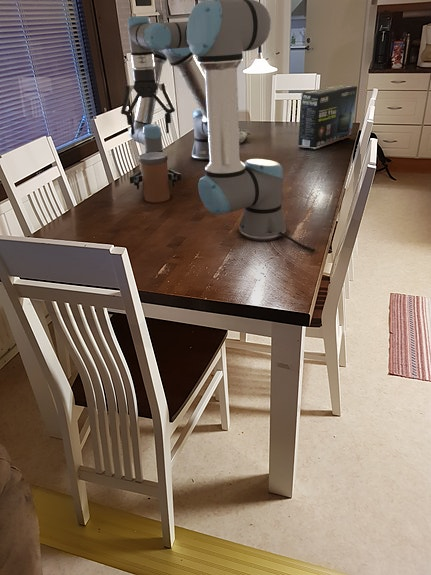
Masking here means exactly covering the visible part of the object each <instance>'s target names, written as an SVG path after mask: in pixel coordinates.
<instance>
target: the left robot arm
mask: <svg viewBox="0 0 431 575" xmlns="http://www.w3.org/2000/svg"><path fill="white" fill-rule="evenodd" d="M153 54H154V67H153V69H154V70H155V76H156V83H157V84H161V78H162V72H163V69H164V65H165V64H166V63H167V62H168V63H169V64H170V67H174V68H176V69H177V71H178V73H179V74H180V76H181V78H182V80H183V82H184V83H185V85H186V87H187V89H188V91H189V93H190V94H191V96H192V98H193V99H194V101H195V104H196V105H197V107H198V108H197V109H195V110H193V112H192V122H193V136H194V137H193V138H194V142H193V147H192V151H191V158H192V159H193V160H195V161H199V162H210V156H209V139H208V123H207V106H206V90H205V74H204V72H203V70H202V67H201V65H200V64H199V63H198V59H196V57H195V55H194V54H193V53H192V52H191V51H190V49H189V48H176V49H165V50H162V51H154V50H153ZM159 90H160V89H159V88H157V90H156V93H157V94H158V93H159ZM158 95H159V94H158ZM156 103H157V101H156V99H154V97H151V98H148V97H146V98H142V97H140V98H139V99H138V101H137V106H136V112H135V118H134V129H135V134H134V135H132V131H131V126H130V127H129V130H128V134H129V137H130V138H131V140H133V141H134V142H136V143H138V144H141V145H143V146H144V150H145V153H149V152H163V153H164V150H163V140H162V138H163V136H162V129H161V126H160V125H159V124H154V123H153V118H154V112H155V108H156ZM128 179H129V184H130V185H132V184H133V185H134V186H135V187H136V190H140V183H143V181H142V173H141V169H139V170H138V171H137V172H135V173H134V174H131V175H130V176H129V178H128ZM168 179H169V181H171V185H172V188H175V183H177V182H178V181H182V173H180V172H178V171H176V170H174V169H173V168H171V167H169V168H168Z"/></svg>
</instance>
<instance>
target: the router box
mask: <svg viewBox="0 0 431 575" xmlns="http://www.w3.org/2000/svg"><path fill="white" fill-rule="evenodd" d="M357 93H358V86H356V85H350V84H339V85H338V84H337V85H334V86H328V87H324V88H318V89H314V90H309V91H304V92H301V93H300V109H299V110H300V111H299V124H298V137H297V146H298V145H302V146H307V147H317V146H320V145H323V144H325V143H328V142H331V141H333V140H336V139H338V138H341V137H344V136H347V135H351V136H352V133H353V132H352V131H353V125H354V115H355V109H356V99H357ZM311 151H313V150H312V149H311Z"/></svg>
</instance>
